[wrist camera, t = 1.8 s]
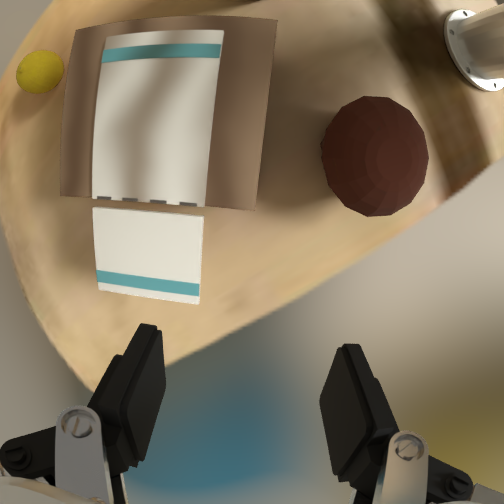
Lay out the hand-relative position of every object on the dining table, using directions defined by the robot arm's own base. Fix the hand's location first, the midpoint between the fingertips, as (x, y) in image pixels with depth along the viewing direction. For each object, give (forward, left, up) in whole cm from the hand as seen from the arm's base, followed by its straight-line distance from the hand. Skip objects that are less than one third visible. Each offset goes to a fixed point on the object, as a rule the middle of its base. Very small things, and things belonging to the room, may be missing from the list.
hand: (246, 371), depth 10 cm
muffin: (-11, -8, -26) cm, 29 cm away
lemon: (+27, -16, -26) cm, 41 cm away
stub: (+9, +3, -16) cm, 18 cm away
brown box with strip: (+9, -10, -26) cm, 29 cm away
